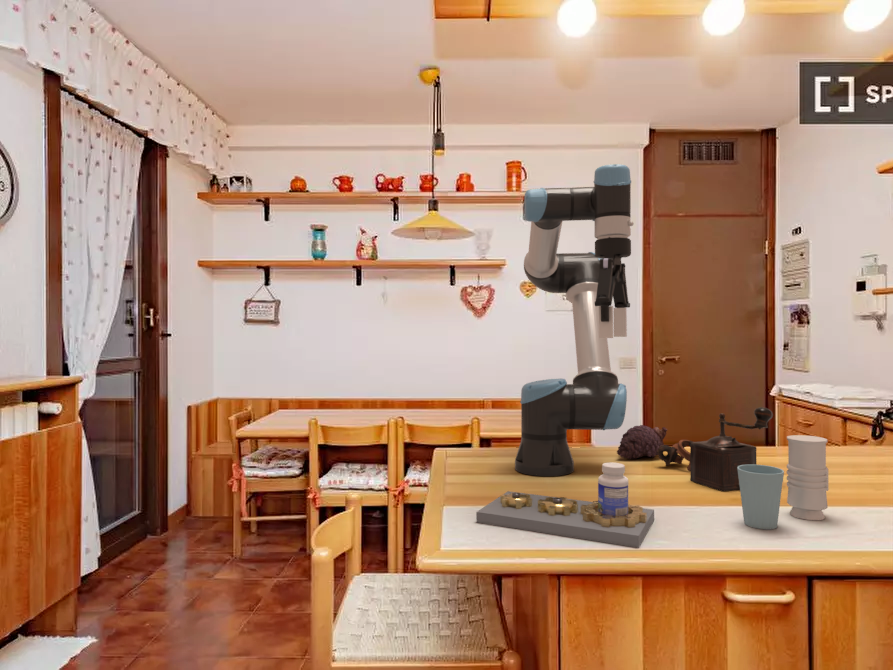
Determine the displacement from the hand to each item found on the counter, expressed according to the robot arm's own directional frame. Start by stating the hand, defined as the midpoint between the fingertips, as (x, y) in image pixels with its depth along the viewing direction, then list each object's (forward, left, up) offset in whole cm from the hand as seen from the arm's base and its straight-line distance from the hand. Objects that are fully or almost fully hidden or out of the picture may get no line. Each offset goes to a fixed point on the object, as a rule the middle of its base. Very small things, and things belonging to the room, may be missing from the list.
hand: (613, 337), depth 130 cm
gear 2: (+4, -20, -33) cm, 38 cm away
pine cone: (-2, +44, -35) cm, 56 cm away
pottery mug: (+9, +35, -35) cm, 50 cm away
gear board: (-5, -20, -35) cm, 40 cm away
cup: (+28, -6, -35) cm, 45 cm away
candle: (+36, +4, -35) cm, 50 cm away
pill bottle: (+4, -20, -33) cm, 39 cm away
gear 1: (-6, -20, -33) cm, 39 cm away
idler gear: (-15, -20, -33) cm, 41 cm away
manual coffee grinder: (+22, +24, -35) cm, 48 cm away
